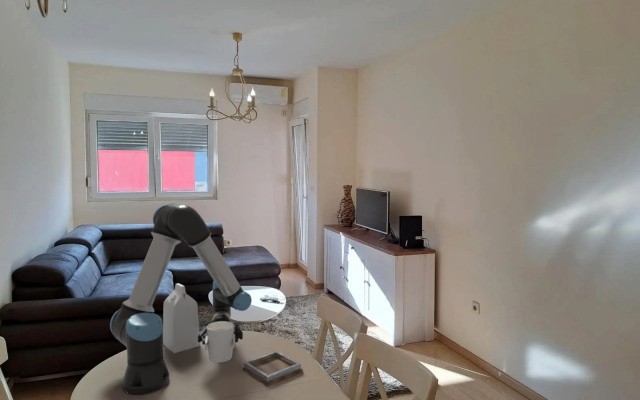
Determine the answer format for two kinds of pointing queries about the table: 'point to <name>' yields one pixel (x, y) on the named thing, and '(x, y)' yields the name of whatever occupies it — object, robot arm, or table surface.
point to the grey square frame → (294, 367)
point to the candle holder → (220, 341)
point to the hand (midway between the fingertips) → (220, 345)
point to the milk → (180, 321)
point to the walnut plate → (272, 370)
